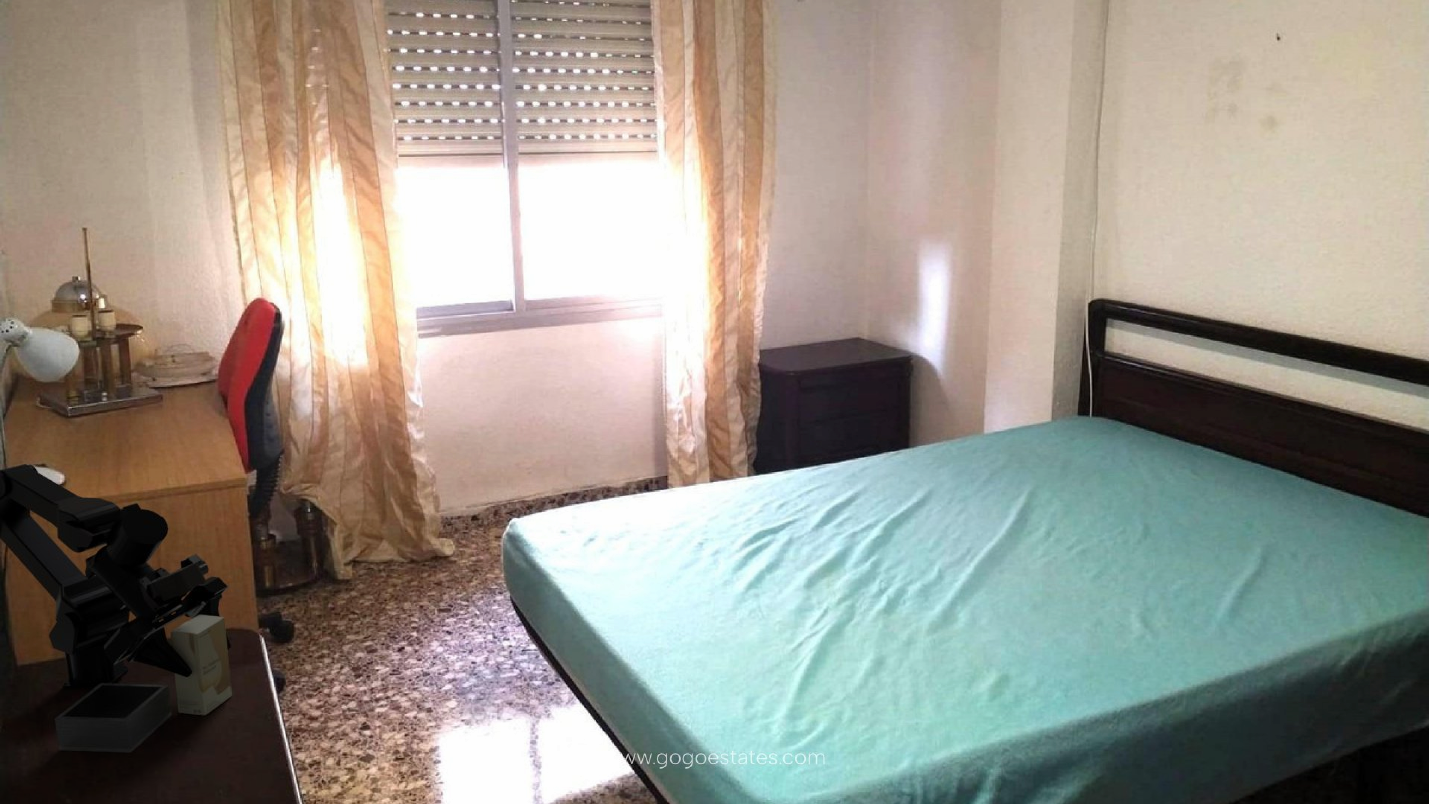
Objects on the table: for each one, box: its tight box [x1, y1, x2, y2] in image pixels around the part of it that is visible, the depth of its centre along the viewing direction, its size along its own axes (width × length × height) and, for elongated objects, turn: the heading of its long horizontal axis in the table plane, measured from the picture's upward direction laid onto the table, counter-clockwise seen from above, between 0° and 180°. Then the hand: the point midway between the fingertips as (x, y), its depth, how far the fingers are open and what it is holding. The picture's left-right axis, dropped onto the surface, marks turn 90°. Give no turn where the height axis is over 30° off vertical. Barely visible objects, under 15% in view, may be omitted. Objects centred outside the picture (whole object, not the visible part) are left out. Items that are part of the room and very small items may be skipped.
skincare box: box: [169, 615, 233, 716], centre depth 149 cm, size 6×4×12 cm
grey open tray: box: [54, 682, 173, 753], centre depth 142 cm, size 10×10×4 cm
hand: (210, 661), depth 149 cm, fingers open, 8 cm apart
